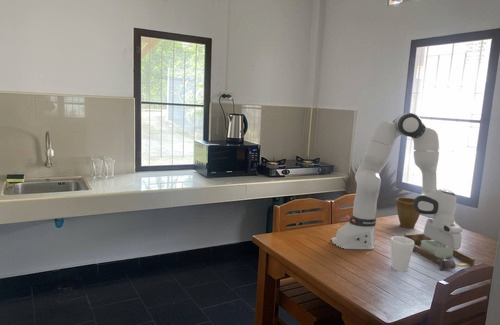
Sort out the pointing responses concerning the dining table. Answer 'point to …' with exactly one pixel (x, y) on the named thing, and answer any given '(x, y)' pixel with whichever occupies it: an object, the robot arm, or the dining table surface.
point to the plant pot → (407, 212)
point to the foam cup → (401, 252)
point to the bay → (440, 262)
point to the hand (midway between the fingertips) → (439, 251)
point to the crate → (436, 249)
